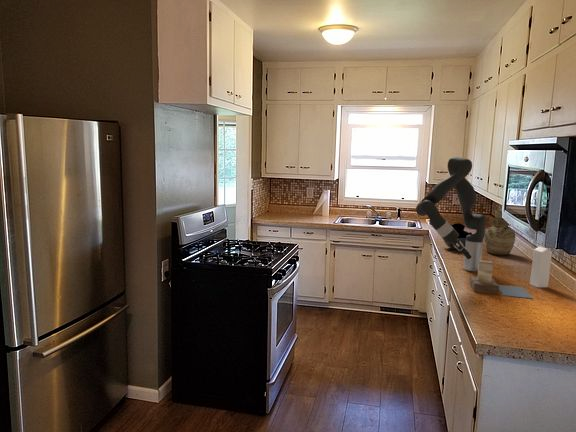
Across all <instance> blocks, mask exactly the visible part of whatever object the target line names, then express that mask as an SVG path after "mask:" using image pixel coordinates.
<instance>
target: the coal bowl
mask: <svg viewBox="0 0 576 432" xmlns="http://www.w3.org/2000/svg"><path fill="white" fill-rule="evenodd" d="M449 224H450V225H451V226H452V227H453V228H454V229H455V230H456V231H457V232H458V234H459V236H458V237H457V239H459V240H460V241H461V242H462V244H463V246H464V247H465V245H466V236H467V235H471V234H473V233H472V232H471V231H470V232H468V231H466V230H465V228H466V226H465V224H463V223H458V222H457V223H454V224H452V223H449ZM443 242H444V244H445V245H446V246H447V247H448V248H449V249H452V250H456V251H458V249H457V248H455V247H454V246H453V242H451V243H449V244H447V243H446V242H445V241H444V240H443Z"/></svg>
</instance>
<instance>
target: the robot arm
mask: <svg viewBox="0 0 576 432" xmlns="http://www.w3.org/2000/svg"><path fill="white" fill-rule="evenodd" d="M472 169H473V162H472V161H471V160H470V159H469V158H465V157H459V156H452V157H450V159H448V161H447V171H448V174H449V175H450V176H449V177H447V178H445V179H443V180H441V181H440V182H438V183H437V184H435V185H434V186H433V187H432V189H430V191H429V192H428V194H427V195H426V196H425V197H424V198H423V199H421V200H420V201H419V203H417V205H416V207H415V211H416V215H418V216H420V217H424V216H426V217H428V220H429V221H428V222H429V224H430V226H431V227H432V228H433V229H434V230H435V231H436V233H437V234H438V235H439V236H440V238H442V240H443V242H444V241H445V242H446V243H447V244H449V243H451V242H453V246H454V247H455V248H457V249H458V250H457V251H458V252H460V253H461V254H462V255H463V256H464V257H463V265H462V267H463V270H465V271H469V272H478V265H479V260H482V253H483V244H484V233H485V231H486V226H487V217H486V215H485V214H481V213H480V214H479V213H473V212H472V208H473V207H474V205H475V204H476V201H477V193H476V190H475V187H474V186H473V184H472V183H470V181H469V180H468V179H467V178H466V177H468V175H469V174H470V173H471V171H472ZM453 188H455V190H456V195H457V198H458V201H459V204H460V208H461V212H462V216H463V221H464V226H465V228H467V229H470V230H474V231H475V232H474V233H472V234H471V235H467V236H466V245H465V247H464V246H463V244H462V242H461V241H460V240H459V239H457V237H458V236H459V234H458V232H457V231H456V230H455V229H454V228H453V227H452V226H451V225H450V224H451V223H449V222H448V221H447V220H446V219H445V218H444V217H443V216H442V214H441V213H440V210H439V209H438V208H437V204H438V203H440V202H441V201H442V199H444V197H445V196H446V195H447V194H448V192H450V191H451V190H452V189H453ZM445 242H444V243H445Z"/></svg>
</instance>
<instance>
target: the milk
mask: <svg viewBox="0 0 576 432" xmlns="http://www.w3.org/2000/svg"><path fill="white" fill-rule="evenodd" d="M552 256H553V251H552V250H550V249H549V247H548V248H545V247H543V246H542V245H538V247H536V248H534V249H533V256H532V263H531V264H532V265H531V270H530V271H531V272H530V279H529V285H531V286H533V287H536V288H548V286H549V281H550V272H551V265H552Z"/></svg>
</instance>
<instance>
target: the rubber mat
mask: <svg viewBox="0 0 576 432" xmlns="http://www.w3.org/2000/svg"><path fill="white" fill-rule="evenodd" d="M498 286H499V291H498V292H500V293H501V295H502V296H504V297H510V298H519V299H520V298H521V299H530V300H533V299H534V297H533V296H532V295H531V294H530V293H529V292H528V291H527V290H526V289H525V288H524V287H522V286H514V285H505V284H503V285H502V284H498Z"/></svg>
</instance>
